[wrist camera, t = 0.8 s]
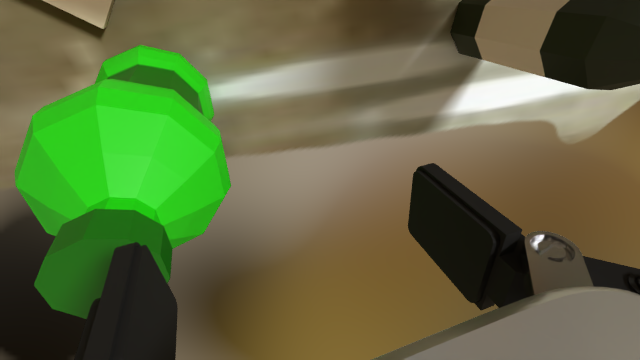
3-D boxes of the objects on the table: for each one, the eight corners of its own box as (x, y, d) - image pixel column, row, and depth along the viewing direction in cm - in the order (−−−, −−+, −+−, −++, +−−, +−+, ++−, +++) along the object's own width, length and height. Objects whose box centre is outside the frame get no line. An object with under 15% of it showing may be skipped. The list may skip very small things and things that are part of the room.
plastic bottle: (124, 147, 33) (23, 396, 13) (81, 39, 28) (-206, 195, 8) (221, 132, 36) (258, 323, 16) (200, 31, 30) (216, 131, 10)
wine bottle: (511, -29, 37) (1077, -41, 13) (504, 43, 42) (911, 128, 18) (450, -6, 36) (944, 25, 12) (450, 65, 41) (806, 185, 17)
